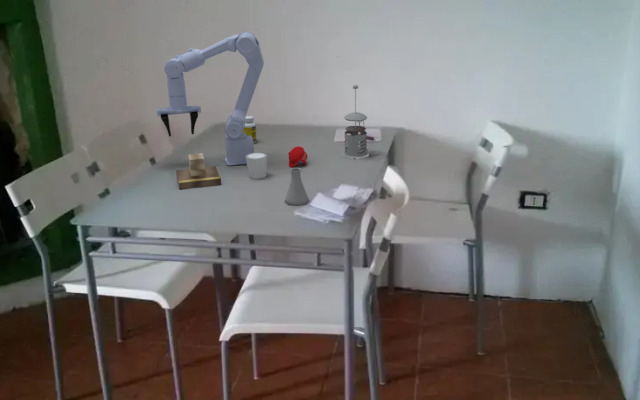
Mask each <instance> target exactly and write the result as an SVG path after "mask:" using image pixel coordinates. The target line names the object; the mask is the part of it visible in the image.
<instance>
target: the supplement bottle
mask: <svg viewBox="0 0 640 400" xmlns="http://www.w3.org/2000/svg"><path fill="white" fill-rule="evenodd" d="M254 119H255V118H254V116H251V115H246V117H245V120H244V121H245V126H244V132H245V134H246V136H252V139H253V144H256V143H257V124H256V122H254V121H255V120H254Z"/></svg>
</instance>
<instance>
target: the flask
mask: <svg viewBox="0 0 640 400" xmlns="http://www.w3.org/2000/svg"><path fill="white" fill-rule="evenodd" d="M289 171H290V173H291V174H290V175H291V176H290V177H291V178H290V183H289V187H288V189H287V192H286V196H285V199H284V202H285V203H286V204H287V205H289V206H291V205H292V206H301V205H306V204H308V202H309V200H310V198H309V196H308V194H307V192H306V190H305V187H304V184H303V181H302V177H301V172H302V169H301V167H293V168H291V167H290V170H289Z"/></svg>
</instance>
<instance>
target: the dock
mask: <svg viewBox="0 0 640 400" xmlns="http://www.w3.org/2000/svg"><path fill="white" fill-rule="evenodd" d="M175 174H176V179H177V184H178V189H179V190H184V189H192V188H193V189H194V188H195V189H196V188H201V187H202V188H203V187H210V186H211V187H212V186H213V187H214V186H221V185H222V179H221V176H220V174H219V171H218V169H217V166H216V165H214V166H205V174H206V177H197V178H191V175H190V168H186V169H177V170H175Z"/></svg>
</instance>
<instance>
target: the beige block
mask: <svg viewBox="0 0 640 400" xmlns="http://www.w3.org/2000/svg"><path fill="white" fill-rule="evenodd" d="M187 158H188V167H189V168H188V169H190V175H191V178H197V177H206V174H205V167H206V165H205V164H206V163H205V157H204V154H203V153H202V152H201V153H200V152H199V153H191V154H188V155H187Z"/></svg>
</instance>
